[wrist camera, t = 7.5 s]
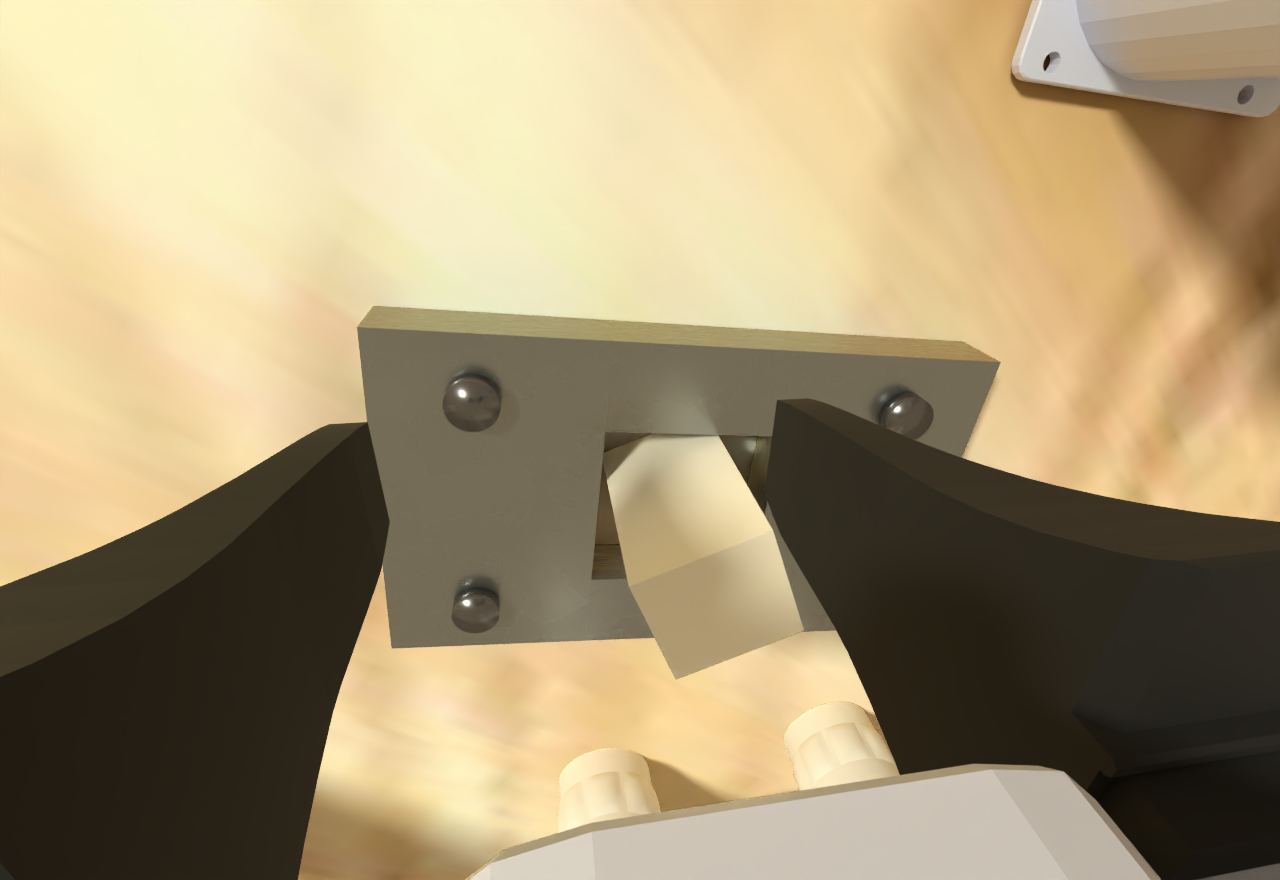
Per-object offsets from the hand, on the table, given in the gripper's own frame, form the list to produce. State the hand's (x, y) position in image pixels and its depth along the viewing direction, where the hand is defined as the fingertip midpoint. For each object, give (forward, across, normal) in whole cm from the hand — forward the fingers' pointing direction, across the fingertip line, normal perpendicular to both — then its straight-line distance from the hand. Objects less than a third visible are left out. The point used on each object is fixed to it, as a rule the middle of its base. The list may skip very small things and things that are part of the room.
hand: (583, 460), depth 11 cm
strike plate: (+9, -4, +7) cm, 12 cm away
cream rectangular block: (+10, -4, +6) cm, 12 cm away
